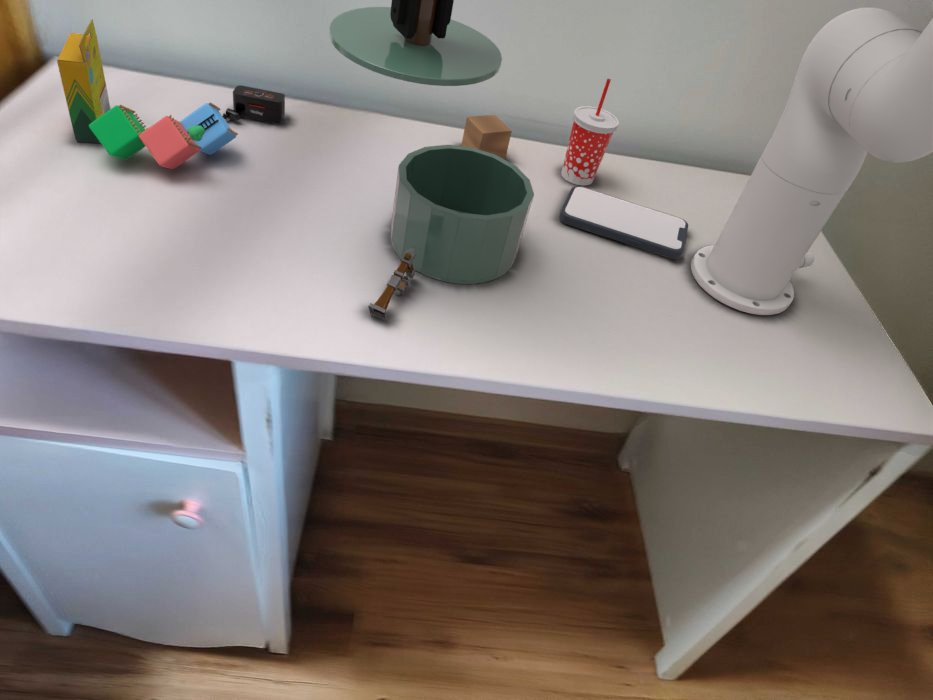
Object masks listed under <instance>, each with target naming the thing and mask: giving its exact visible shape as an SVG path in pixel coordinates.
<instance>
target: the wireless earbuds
mask: <svg viewBox="0 0 933 700" xmlns="http://www.w3.org/2000/svg"><path fill="white" fill-rule="evenodd" d="M232 106H233V107H232V108H233V109H232V108H229V107H228V108H226V110H225V112H223V113H222V116H223V118H224V119H225V121H226V120H231V121H236V122H237V121H240V120H241V119H242V118H245V119H251V120H254V121H255V120H257V121H261V122H266V123H271V124H276V125H279V124H281V123H282V121H283V120H284V118H285V116H286V115H285V114H286V95H285V94H284V93H282V92H277V91H271V90H267V89H261V88H257V87H251V86H246V85H236V86H235V87H234V89H233V90H232Z"/></svg>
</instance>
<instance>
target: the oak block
mask: <svg viewBox="0 0 933 700" xmlns="http://www.w3.org/2000/svg"><path fill="white" fill-rule="evenodd" d="M512 132H513V131H512V129H511V128H510V127H509V126H508V125H506V123H505V122H504V121H503V120H501V118H500V117H499V116H498V115H496V114H489V115H488V114H486V115H471V116H466V119H465V125H464V129H463V134H462V139H461V144H460V146H463V147H471V148H475V149H479V150H482V151H485V152H488V153H491V154H494V155H497V156H499V157H501V158H502V159H504V160H506V156H507V153H508V148H509V145H510V141H511V136H512Z"/></svg>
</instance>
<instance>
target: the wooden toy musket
mask: <svg viewBox="0 0 933 700" xmlns="http://www.w3.org/2000/svg"><path fill="white" fill-rule="evenodd" d="M415 252H416V251H415V249H414V248H410V249H409V250H406V253H405V254H404V256H403V258H402V259H400V263H399V264H398V267H397V268H396V270H394V271H392V273H393V274H391V276H390V278H389V280H388V281H387V283H386V287H385V288H384V290H383V292H382V293H381V295H379V296H378V299H377V300H376V301H375V302H374V303H371V302H370V303H369V304H368V305H367V308H368V311H369V312H368V313H369V314H370V315H372V316H374V317H376V318H379V319H381V320H383V321H386V322H387V319H388V314H387V309H388V307H389V304H390V303H391V300H392V297H393V295H394V294H395V295H396V296H401V294H402V295H404V294H405V293H404V292H405V290H406V288H407V287H408V288H409V280H410V279H413V278H414V276H415V273H416V272H415V271H416V270H414V268H413V263H412V262H413V260H414V259H415V258H416V257H415ZM409 278H410V279H409Z"/></svg>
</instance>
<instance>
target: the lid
mask: <svg viewBox="0 0 933 700" xmlns="http://www.w3.org/2000/svg"><path fill="white" fill-rule="evenodd" d="M436 6H437V0H419V4H418V12H417V19H416V26H415V34H414V37H412V38H405V37H404V36H403V35H402V34H401V33H400V32H399V31H398V30H397V29H396V28H395V27H394V26H393V22H392V20H391V16H390V12H391V6H368V7H360V8H359V7H358V8H353V9H350V10H347V11H344V12H341V13H340V14H338V15H337V16H335V17H334V18H333V19H332V21H331V22H330V24H329V33H328V34H329V40H330V42H331V44H332V45H333V47H334V48H335V49H336V50H337V52H339V53H340V54H341V55H342V56H344V57H345V58H347V59H348V60H350V61H351V62H353V63H355V64H356V65H359V66H360V67H362V68H364V69H367V70H368V71H372V72H374V73H376V74H379V75H382V76H385V77H389V78H392V79H396V80H399V81H404V82H408V83H415V84H420V85H427V86H439V87H460V86H461V87H462V86H469V85H476V84H479V83H484V82H485V81H488V80H490V79H492V78H493V77H495V76H496V75H497V74H498V73H499V71H500V69H501V66H502V61H503V57H502V52H501V50H500V49H499V47H498V46H497V45H496V43H494V42H493V40H491V39H490V38H489V37H488V36H486V35H484V34H483V33H481V32H480V31H479V30H477V29H474V28H473V27H471V26H469V25H466V24H464V23H462V22H459V21H457V20H454V19H452V18H451V20H450V23H449V25H447V30H446V36H445V38H437V37H436V36H435V35H434V34H433V33H432V32H433V26H434V19H435V12H436Z"/></svg>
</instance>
